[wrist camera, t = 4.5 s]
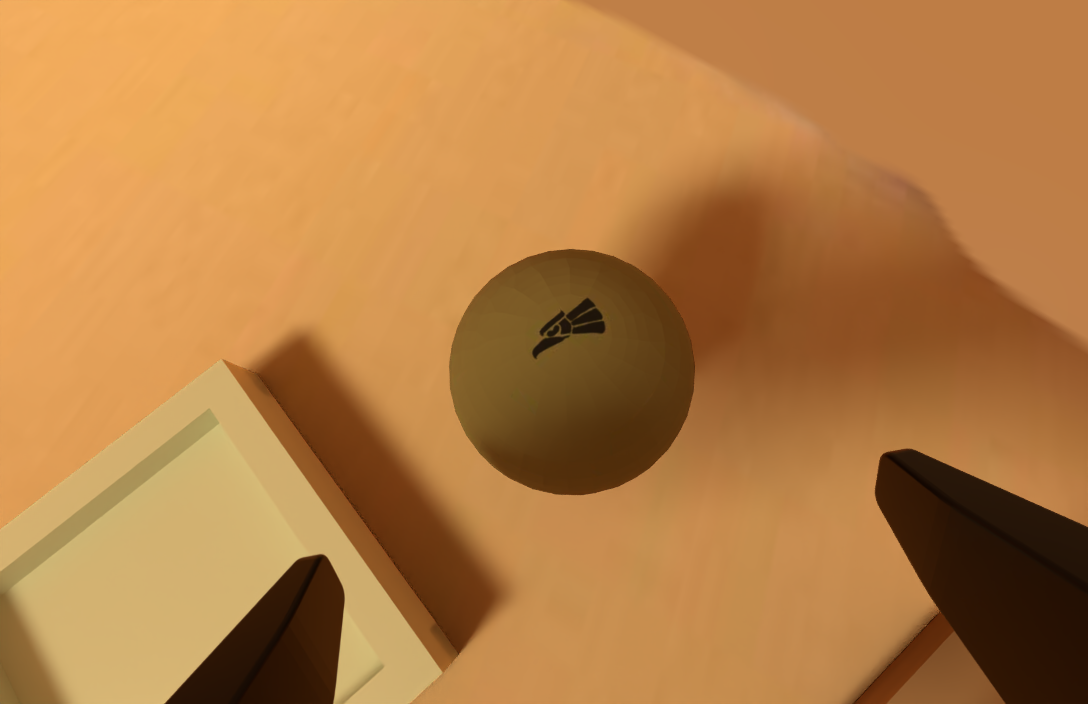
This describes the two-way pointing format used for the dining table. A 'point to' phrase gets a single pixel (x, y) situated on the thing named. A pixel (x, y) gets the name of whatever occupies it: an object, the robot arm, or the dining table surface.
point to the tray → (195, 559)
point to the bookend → (933, 673)
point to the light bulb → (571, 372)
